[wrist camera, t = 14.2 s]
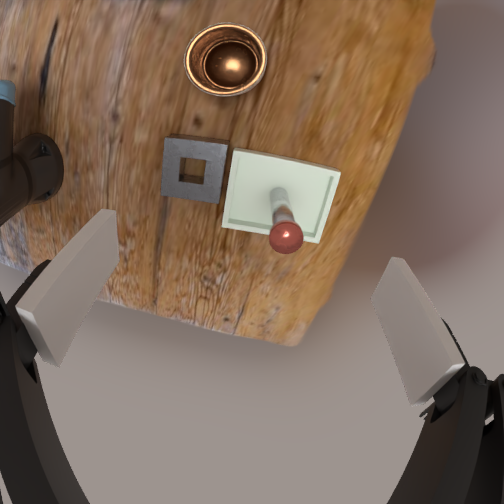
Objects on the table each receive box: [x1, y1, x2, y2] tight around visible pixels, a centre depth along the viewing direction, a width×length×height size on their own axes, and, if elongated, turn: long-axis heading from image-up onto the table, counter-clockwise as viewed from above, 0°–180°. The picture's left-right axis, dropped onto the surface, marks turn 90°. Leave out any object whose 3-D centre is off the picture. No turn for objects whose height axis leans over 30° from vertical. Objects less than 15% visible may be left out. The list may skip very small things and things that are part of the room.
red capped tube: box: [269, 187, 304, 254], centre depth 42 cm, size 4×4×15 cm
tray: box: [222, 147, 341, 243], centre depth 48 cm, size 18×14×2 cm
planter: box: [184, 23, 267, 96], centre depth 33 cm, size 11×11×10 cm
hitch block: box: [161, 134, 230, 204], centre depth 45 cm, size 10×10×4 cm
